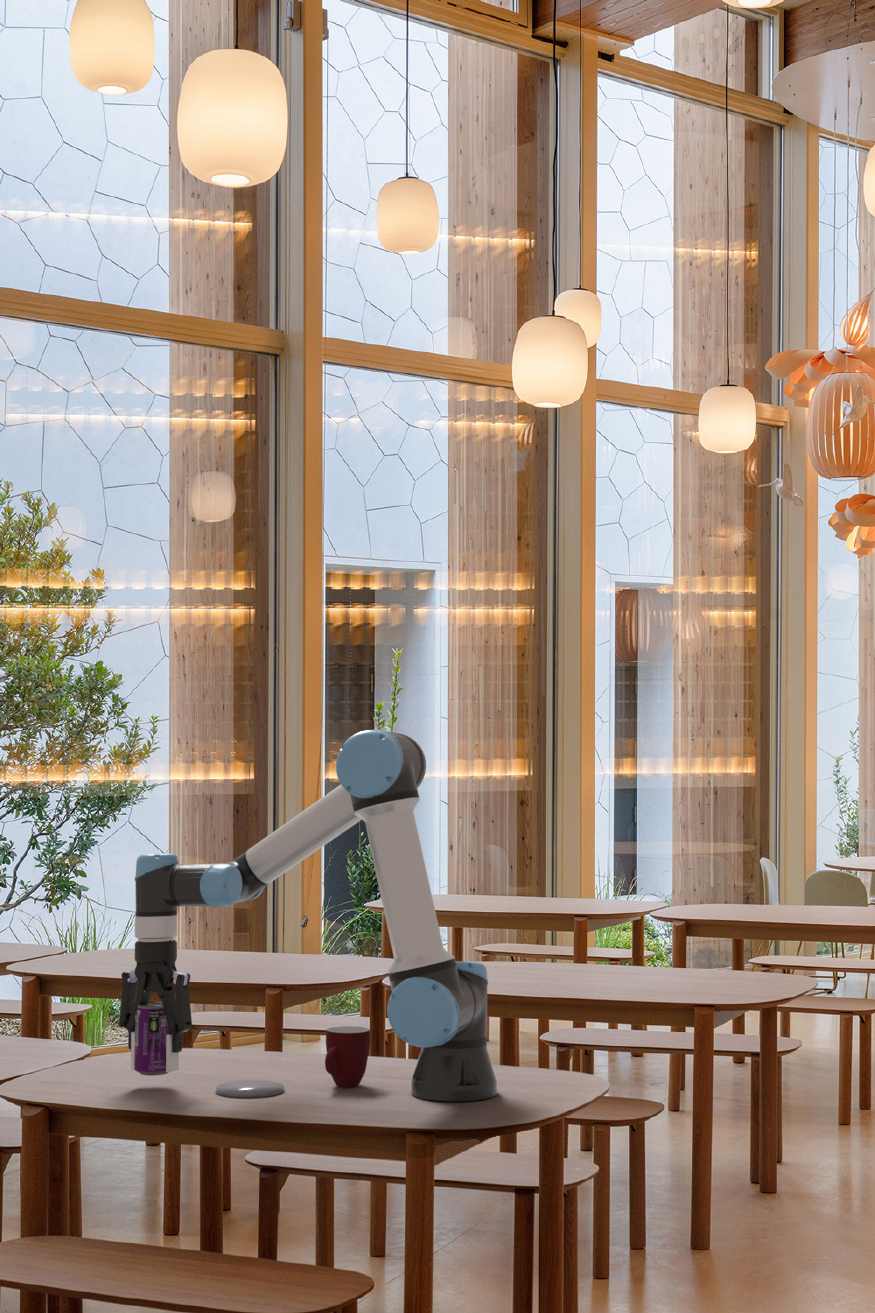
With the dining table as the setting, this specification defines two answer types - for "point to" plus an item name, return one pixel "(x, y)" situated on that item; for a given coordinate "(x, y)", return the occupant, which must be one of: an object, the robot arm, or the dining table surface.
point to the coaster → (249, 1089)
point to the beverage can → (150, 1039)
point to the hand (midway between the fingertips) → (154, 1069)
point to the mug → (347, 1054)
